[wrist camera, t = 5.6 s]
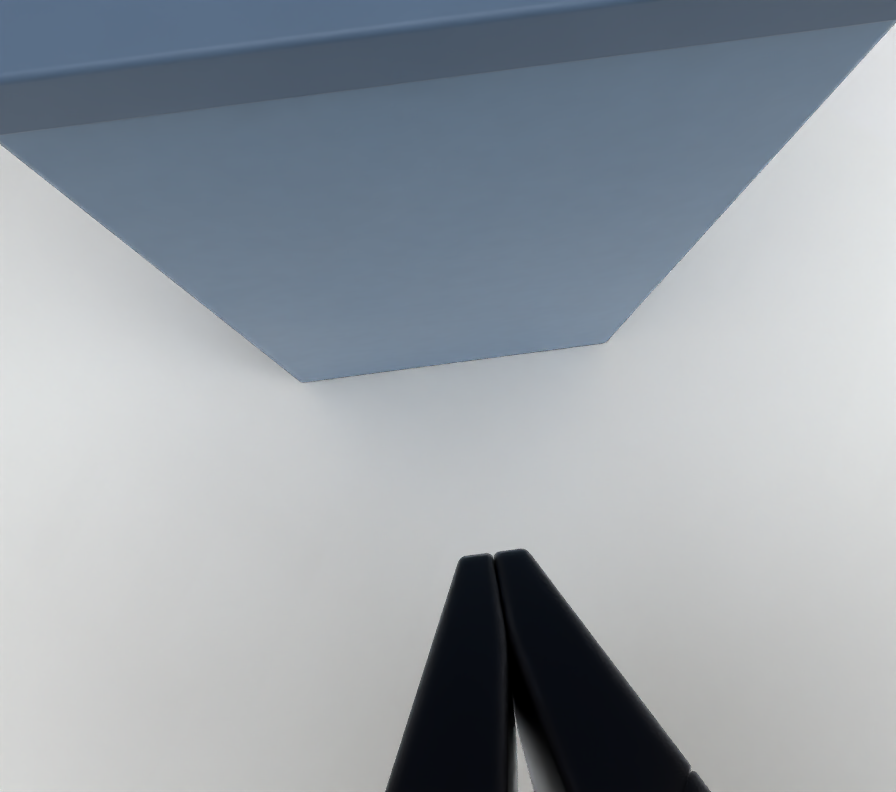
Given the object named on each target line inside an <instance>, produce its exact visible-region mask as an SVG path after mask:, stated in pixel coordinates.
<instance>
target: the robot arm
mask: <svg viewBox="0 0 896 792" xmlns="http://www.w3.org/2000/svg"><path fill="white" fill-rule="evenodd" d="M514 712H515V715H514ZM515 718H516V723H517V729H518V733H519V737H520V741H521V745H522V749H523V752H524V756H525V760H526V763H527V767H528V771H529V774H530V778H531V781H532V785H533V789H534V792H711V791H710V790H709V788H708V787H707V786H706V785H705V783H704V782H703V781H702V779H701V778H700V777H699V775H698V774H697V773H696V772H694V771H692V772H690V771H691V765H690V764H689V763H688V761H687V760H686V759H685V757H684V756H683V755H682V753H681V752H680V751H679V749H678V748H677V747H676V745H675V744H674V743H673V742H672V740H671V739H670V738H669V736H668V735H667V734H666V732H665V731H664V730H663V728H662V727H661V726H660V724H659V723H658V722H657V720H656V719H655V718H654V716H653V715H652V714H651V712H650V711H649V710H648V709H647V707H646V706H645V705H644V703H643V702H642V701H641V699H640V698H639V697H638V695H637V694H636V693H635V691H634V690H633V689H632V687H631V686H630V685H629V683H628V682H627V681H626V679H625V678H624V677H623V676H622V674H621V673H620V672H619V670H618V669H617V668H616V666H615V665H614V664H613V662H612V661H611V660H610V658H609V657H608V656H607V654H606V653H605V652H604V650H603V649H602V648H601V646H600V645H599V644H598V643H597V641H596V640H595V639H594V637H593V636H592V635H591V633H590V632H589V631H588V629H587V628H586V627H585V625H584V624H583V623H582V621H581V620H580V619H579V617H578V616H577V615H576V613H575V612H574V611H573V610H572V608H571V607H570V606H569V604H568V603H567V602H566V600H565V599H564V598H563V596H562V595H561V594H560V592H559V591H558V590H557V588H556V587H555V586H554V584H553V583H552V582H551V580H550V579H549V578H548V577H547V575H546V574H545V573H544V571H543V570H542V569H541V567H540V566H539V565H538V563H537V562H536V561H535V559H534V558H533V557H532V555H531V554H530V553H529V552H528V551H527V550H525V549H515V550H507V551H500V552H497V553H496V554H495V555H494V559H493V556H492V555H491V554H488V553H485V554H477V555H469V556H464V557H462V558H461V559H460V560H459V562H458V564H457V567H456V570H455V573H454V577H453V580H452V583H451V586H450V589H449V592H448V595H447V599H446V602H445V605H444V608H443V611H442V614H441V618H440V621H439V624H438V627H437V630H436V633H435V636H434V640H433V643H432V646H431V649H430V652H429V655H428V659H427V662H426V665H425V668H424V671H423V674H422V677H421V681H420V684H419V687H418V690H417V693H416V696H415V699H414V703H413V706H412V709H411V712H410V715H409V718H408V722H407V725H406V728H405V731H404V734H403V737H402V740H401V744H400V747H399V750H398V753H397V756H396V759H395V763H394V766H393V769H392V772H391V775H390V778H389V781H388V785H387V788H386V791H385V792H518V774H517V743H516V726H515Z"/></svg>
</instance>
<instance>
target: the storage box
mask: <svg viewBox="0 0 896 792" xmlns="http://www.w3.org/2000/svg"><path fill="white" fill-rule="evenodd" d="M895 23H896V0H0V144H1V145H2V146H3V147H4V148H6V149H7V150H8V151H10V152H11V153H12V154H13V155H15V156H16V157H17V158H18V159H20V160H21V161H22V162H23V163H25V164H26V165H27V166H28V167H30V168H31V169H32V170H34V171H35V172H36V173H37V174H39V175H40V176H41V177H42V178H44V179H45V180H46V181H47V182H49V183H50V184H51V185H52V186H54V187H55V188H56V189H58V190H59V191H60V192H61V193H63V194H64V195H65V196H66V197H68V198H69V199H70V200H71V201H73V202H74V203H75V204H76V205H78V206H79V207H80V208H82V209H83V210H84V211H85V212H87V213H88V214H89V215H90V216H92V217H93V218H94V219H95V220H97V221H98V222H99V223H100V224H102V225H103V226H104V227H106V228H107V229H108V230H109V231H111V232H112V233H113V234H114V235H116V236H117V237H118V238H119V239H121V240H122V241H123V242H124V243H126V244H127V245H128V246H130V247H131V248H132V249H133V250H135V251H136V252H137V253H138V254H140V255H141V256H142V257H143V258H145V259H146V260H147V261H148V262H150V263H151V264H152V265H153V266H155V267H156V268H157V269H159V270H160V271H161V272H162V273H164V274H165V275H166V276H167V277H169V278H170V279H171V280H172V281H174V282H175V283H176V284H177V285H179V286H180V287H181V288H183V289H184V290H185V291H186V292H188V293H189V294H190V295H191V296H193V297H194V298H195V299H196V300H198V301H199V302H200V303H201V304H203V305H204V306H205V307H207V308H208V309H209V310H210V311H212V312H213V313H214V314H215V315H217V316H218V317H219V318H220V319H222V320H223V321H224V322H225V323H227V324H228V325H229V326H231V327H232V328H233V329H234V330H236V331H237V332H238V333H239V334H241V335H242V336H243V337H244V338H246V339H247V340H248V341H249V342H251V343H252V344H253V345H255V346H256V347H257V348H258V349H260V350H261V351H262V352H263V353H265V354H266V355H267V356H268V357H270V358H271V359H272V360H273V361H275V362H276V363H277V364H279V365H280V366H281V367H282V368H284V369H285V370H286V371H287V372H289V373H290V374H291V375H292V376H294V377H295V378H296V379H297V380H299V381H300V382H310V381H318V380H325V379H333V378H340V377H348V376H356V375H363V374H371V373H379V372H386V371H394V370H402V369H409V368H417V367H425V366H432V365H440V364H447V363H455V362H463V361H470V360H478V359H486V358H493V357H501V356H509V355H516V354H524V353H532V352H539V351H547V350H554V349H562V348H570V347H577V346H585V345H593V344H600V343H605V342H607V341H608V339H609V338H610V337H611V336H612V335H613V334H614V333H615V332H616V331H617V329H618V328H619V327H620V326H621V325H622V324H623V323H624V322H625V321H626V320H627V318H628V317H629V316H630V315H631V314H632V313H633V312H634V311H635V310H636V309H637V307H638V306H639V305H640V304H641V303H642V302H643V301H644V300H645V299H646V298H647V296H648V295H649V294H650V293H651V292H652V291H653V290H654V289H655V288H656V286H657V285H658V284H659V283H660V282H661V281H662V280H663V279H664V278H665V277H666V275H667V274H668V273H669V272H670V271H671V270H672V269H673V268H674V267H675V266H676V264H677V263H678V262H679V261H680V260H681V259H682V258H683V257H684V256H685V254H686V253H687V252H688V251H689V250H690V249H691V248H692V247H693V246H694V245H695V243H696V242H697V241H698V240H699V239H700V238H701V237H702V236H703V235H704V234H705V232H706V231H707V230H708V229H709V228H710V227H711V226H712V225H713V224H714V222H715V221H716V220H717V219H718V218H719V217H720V216H721V215H722V214H723V213H724V211H725V210H726V209H727V208H728V207H729V206H730V205H731V204H732V203H733V202H734V200H735V199H736V198H737V197H738V196H739V195H740V194H741V193H742V192H743V191H744V189H745V188H746V187H747V186H748V185H749V184H750V183H751V182H752V181H753V179H754V178H755V177H756V176H757V175H758V174H759V173H760V172H761V171H762V170H763V168H764V167H765V166H766V165H767V164H768V163H769V162H770V161H771V160H772V159H773V157H774V156H775V155H776V154H777V153H778V152H779V151H780V150H781V149H782V147H783V146H784V145H785V144H786V143H787V142H788V141H789V140H790V139H791V138H792V136H793V135H794V134H795V133H796V132H797V131H798V130H799V129H800V128H801V127H802V125H803V124H804V123H805V122H806V121H807V120H808V119H809V118H810V117H811V115H812V114H813V113H814V112H815V111H816V110H817V109H818V108H819V107H820V106H821V104H822V103H823V102H824V101H825V100H826V99H827V98H828V97H829V96H830V95H831V93H832V92H833V91H834V90H835V89H836V88H837V87H838V86H839V85H840V83H841V82H842V81H843V80H844V79H845V78H846V77H847V76H848V75H849V74H850V72H851V71H852V70H853V69H854V68H855V67H856V66H857V65H858V64H859V63H860V61H861V60H862V59H863V58H864V57H865V56H866V55H867V54H868V53H869V52H870V50H871V49H872V48H873V47H874V46H875V45H876V44H877V43H878V42H879V40H880V39H881V38H882V37H883V36H884V35H885V34H886V33H887V32H888V31H889V29H890V28H891V27H892V26H893V25H894V24H895Z"/></svg>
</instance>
